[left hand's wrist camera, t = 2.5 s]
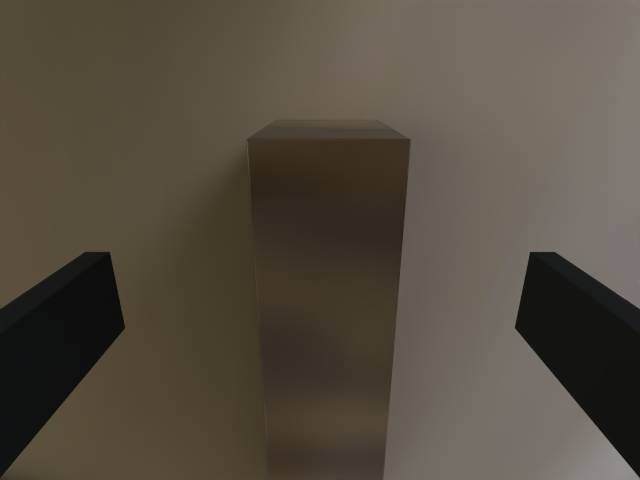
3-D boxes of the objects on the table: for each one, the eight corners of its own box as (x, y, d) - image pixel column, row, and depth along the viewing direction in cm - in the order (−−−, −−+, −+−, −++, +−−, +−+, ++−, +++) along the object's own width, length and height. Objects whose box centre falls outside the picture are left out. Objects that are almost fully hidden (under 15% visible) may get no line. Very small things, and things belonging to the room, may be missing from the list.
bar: (275, 120, 22) (245, 138, 14) (378, 120, 22) (411, 138, 14) (289, 483, 32) (277, 617, 24) (359, 484, 32) (372, 618, 24)
